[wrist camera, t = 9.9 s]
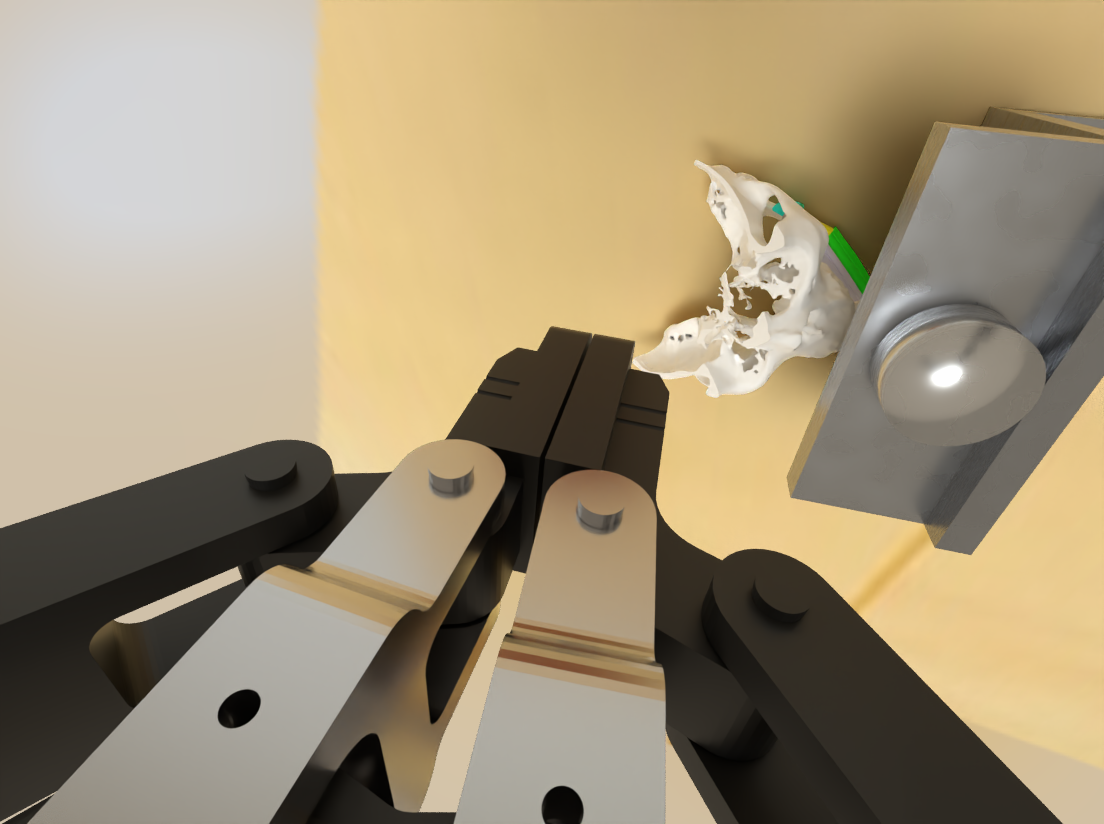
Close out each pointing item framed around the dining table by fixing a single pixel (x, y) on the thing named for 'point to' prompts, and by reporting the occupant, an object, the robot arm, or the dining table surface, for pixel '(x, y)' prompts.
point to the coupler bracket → (968, 330)
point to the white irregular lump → (802, 279)
